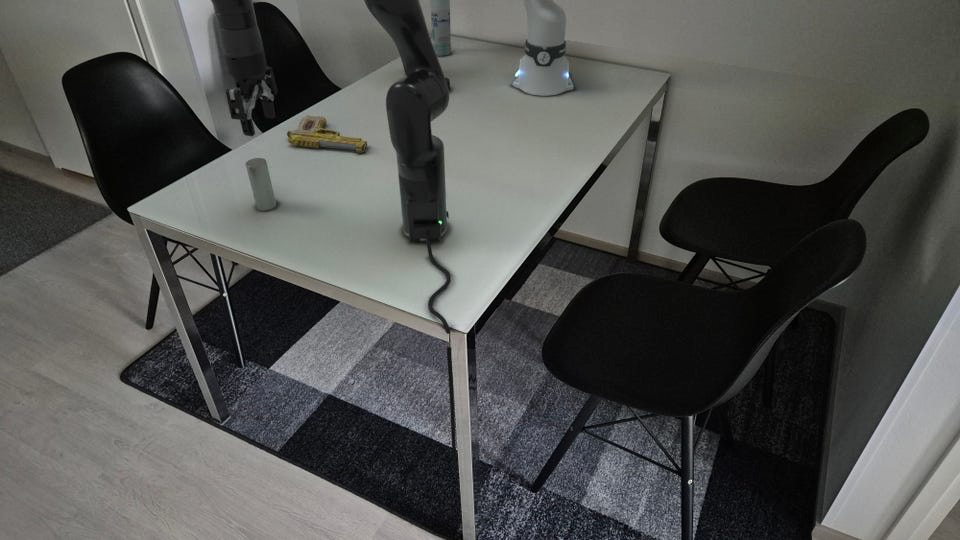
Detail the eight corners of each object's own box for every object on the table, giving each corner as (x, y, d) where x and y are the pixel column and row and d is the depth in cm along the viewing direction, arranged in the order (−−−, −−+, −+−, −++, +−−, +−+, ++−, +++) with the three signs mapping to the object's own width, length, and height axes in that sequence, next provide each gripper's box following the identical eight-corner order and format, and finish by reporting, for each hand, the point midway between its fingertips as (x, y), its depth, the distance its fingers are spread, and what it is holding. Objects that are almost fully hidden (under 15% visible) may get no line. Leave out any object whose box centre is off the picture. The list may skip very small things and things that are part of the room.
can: (277, 200, 142) (267, 157, 135) (274, 210, 139) (264, 166, 132) (258, 201, 142) (247, 158, 135) (254, 211, 138) (243, 167, 132)
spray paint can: (430, 51, 220) (427, -10, 208) (447, 48, 222) (445, -12, 209) (435, 57, 215) (433, -5, 203) (453, 54, 217) (452, -7, 205)
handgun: (382, 130, 171) (364, 155, 159) (304, 122, 174) (280, 145, 162) (382, 122, 169) (363, 146, 157) (303, 113, 172) (278, 136, 161)
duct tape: (420, 91, 191) (419, 82, 189) (440, 81, 197) (440, 72, 196) (440, 97, 187) (439, 88, 186) (460, 87, 194) (460, 78, 192)
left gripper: (244, 35, 127) (261, 110, 137) (204, 59, 116) (225, 139, 126) (278, 38, 126) (292, 114, 136) (241, 63, 115) (259, 143, 125)
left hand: (260, 126), depth 131 cm, fingers open, 8 cm apart
